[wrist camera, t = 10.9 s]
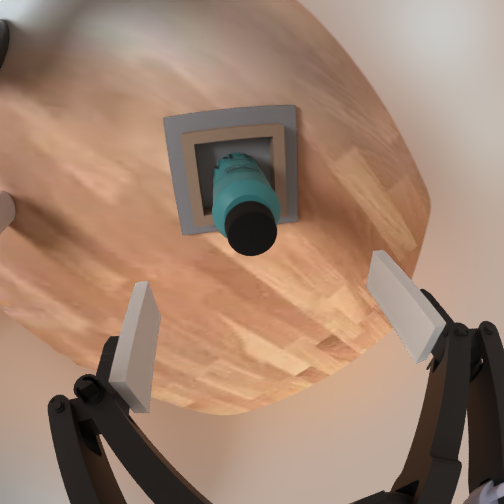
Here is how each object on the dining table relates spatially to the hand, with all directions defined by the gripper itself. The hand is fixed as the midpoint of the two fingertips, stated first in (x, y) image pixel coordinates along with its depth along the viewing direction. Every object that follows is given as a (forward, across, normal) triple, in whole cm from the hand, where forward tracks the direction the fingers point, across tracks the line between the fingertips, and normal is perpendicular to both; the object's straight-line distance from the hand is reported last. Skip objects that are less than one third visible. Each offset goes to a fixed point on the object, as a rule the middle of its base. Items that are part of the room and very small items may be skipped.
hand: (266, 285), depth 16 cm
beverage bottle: (+26, 0, 0) cm, 26 cm away
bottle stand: (+27, 0, 0) cm, 27 cm away
